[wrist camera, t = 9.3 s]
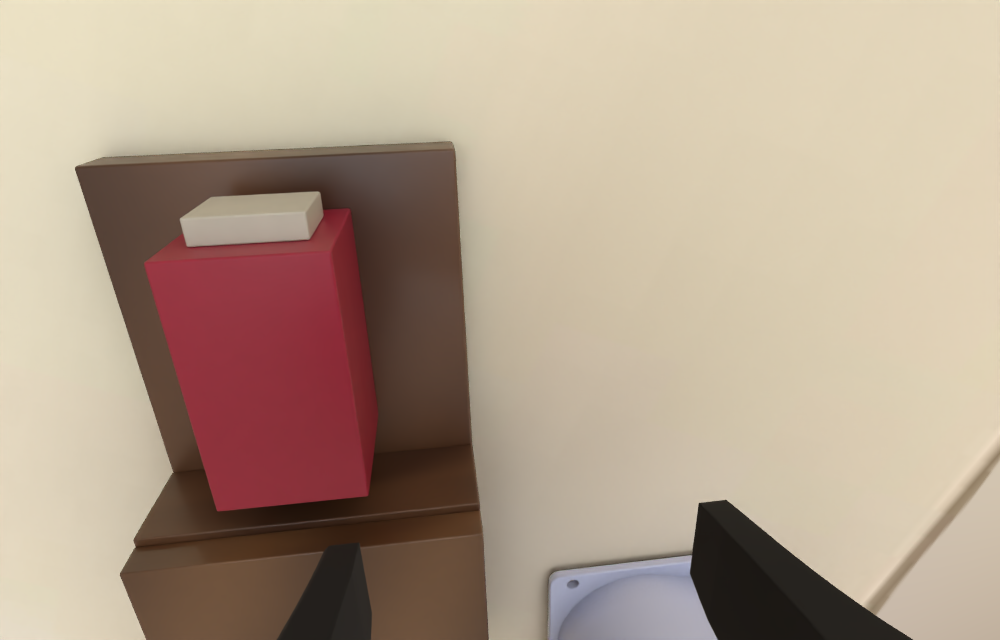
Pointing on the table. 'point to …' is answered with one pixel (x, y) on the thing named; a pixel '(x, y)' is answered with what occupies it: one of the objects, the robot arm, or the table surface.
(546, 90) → the table surface
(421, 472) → the step shelf
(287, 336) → the red box with cap
